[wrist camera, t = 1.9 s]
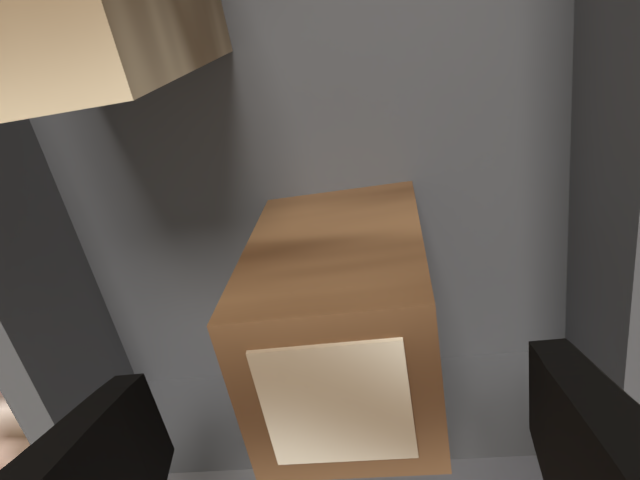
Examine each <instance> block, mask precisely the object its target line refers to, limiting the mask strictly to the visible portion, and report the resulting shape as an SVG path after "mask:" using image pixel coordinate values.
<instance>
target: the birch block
mask: <svg viewBox="0 0 640 480" xmlns="http://www.w3.org/2000/svg"><path fill="white" fill-rule="evenodd" d="M232 51H233V50H232V45H231V41H230V37H229V33H228V28H227V24H226V20H225V16H224V11H223V7H222V3H221V0H0V123H6V122H12V121H18V120H24V119H29V118H35V117H41V116H47V115H53V114H58V113H64V112H70V111H76V110H82V109H87V108H93V107H99V106H105V105H111V104H117V103H122V102H128V101H134V100H136V99H138V98H140V97H142V96H144V95H146V94H148V93H150V92H152V91H154V90H156V89H158V88H160V87H162V86H164V85H166V84H168V83H170V82H172V81H174V80H176V79H178V78H180V77H182V76H184V75H186V74H188V73H190V72H192V71H194V70H196V69H198V68H200V67H202V66H204V65H206V64H208V63H210V62H212V61H214V60H216V59H218V58H220V57H222V56H224V55H226V54H228V53H230V52H232Z"/></svg>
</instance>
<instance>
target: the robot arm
mask: <svg viewBox="0 0 640 480" xmlns="http://www.w3.org/2000/svg"><path fill="white" fill-rule="evenodd" d="M529 429H530V433H531V437H532V441H533V444H534V448H535V452H536V456H537V459H538V463H539V466H540V470H541V473H542V477H543V480H640V404H639V403H638V402H636V401H635V400H634V399H633V398H632V397H631V396H630V395H628V394H627V393H626V392H625V391H624V390H623V389H622V388H621V387H619V386H618V385H617V384H616V383H615V382H614V381H613V380H612V379H610V378H609V377H608V376H607V375H606V374H605V373H604V372H603V371H602V370H601V369H599V368H598V367H597V366H596V365H595V364H594V363H593V362H592V361H591V360H590V359H589V358H588V357H586V356H585V355H584V354H583V353H582V352H581V351H580V350H579V349H578V348H577V347H576V346H575V345H573V344H572V343H571V342H570V341H569V340H567V339H566V338H562V339H550V340H538V341H529ZM174 450H175V449H174V446H173V444H172V441H171V439H170V437H169V434H168V432H167V429H166V427H165V424H164V422H163V419H162V417H161V414H160V412H159V410H158V407H157V405H156V402H155V400H154V397H153V395H152V392H151V390H150V388H149V385H148V383H147V380H146V378H145V375H144V373H142V374H130V375H118V376H114V377H113V378H112V379H110V380H109V381H107V382H106V383H105V384H103V385H102V386H101V387H100V388H98V389H97V390H96V391H95V392H93V393H92V394H91V395H90V396H88V397H87V398H86V399H85V400H84V401H82V402H81V403H80V404H79V405H78V406H76V407H75V408H74V409H73V410H72V411H70V412H69V413H68V414H67V415H66V416H65V417H63V418H62V419H61V420H60V421H59V422H58V423H56V424H55V425H54V426H53V427H52V428H50V429H49V430H48V431H47V432H46V433H44V434H43V435H42V436H41V437H40V438H38V439H37V440H36V441H35V442H34V443H33V444H31V445H30V446H29V447H28V448H27V449H25V450H24V451H23V452H22V453H21V454H19V455H18V456H17V457H16V458H15V459H13V460H12V461H11V462H10V463H8V464H7V465H6V466H5V467H3V468H2V469H1V470H0V480H167V478H168V474H169V470H170V466H171V462H172V458H173V454H174Z"/></svg>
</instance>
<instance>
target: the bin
mask: <svg viewBox="0 0 640 480" xmlns="http://www.w3.org/2000/svg"><path fill="white" fill-rule="evenodd" d="M221 3H222V7H223V11H224V16H225V20H226V24H227V28H228V33H229V37H230V41H231V45H232V50H233V51H232V52H230V53H228V54H226V55H224V56H222V57H220V58H218V59H216V60H214V61H212V62H210V63H208V64H206V65H204V66H202V67H200V68H198V69H196V70H194V71H192V72H190V73H188V74H186V75H184V76H182V77H180V78H178V79H176V80H174V81H172V82H170V83H168V84H166V85H164V86H162V87H160V88H158V89H156V90H154V91H152V92H150V93H148V94H146V95H144V96H142V97H140V98H138V99H136V100H134V101H128V102H122V103H117V104H111V105H105V106H99V107H93V108H87V109H82V110H76V111H70V112H64V113H58V114H53V115H47V116H41V117H35V118H29V119H24V120H18V121H12V122H6V123H0V391H1V393H2V395H3V397H4V398H5V400H6V402H7V404H8V406H9V407H10V409H11V411H12V413H13V414H14V416H15V418H16V420H17V422H18V423H19V425H20V427H21V429H22V430H23V432H24V434H25V436H26V438H27V439H28V441H29V443H30V445H31V444H33V443H34V442H35V441H36V440H37V439H38V438H40V437H41V436H42V435H43V434H44V433H46V432H47V431H48V430H49V429H50V428H52V427H53V426H54V425H55V424H56V423H58V422H59V421H60V420H61V419H62V418H63V417H65V416H66V415H67V414H68V413H69V412H70V411H72V410H73V409H74V408H75V407H76V406H78V405H79V404H80V403H81V402H82V401H84V400H85V399H86V398H87V397H88V396H90V395H91V394H92V393H93V392H95V391H96V390H97V389H98V388H100V387H101V386H102V385H103V384H105V383H106V382H107V381H109V380H110V379H112V378H113V377H114V376H118V375H130V374H142V373H144V375H145V378H146V380H147V383H148V385H149V388H150V390H151V392H152V395H153V397H154V400H155V402H156V405H157V407H158V410H159V412H160V414H161V417H162V419H163V422H164V424H165V427H166V429H167V432H168V434H169V437H170V439H171V441H172V444H173V446H174V449H175V450H174V454H173V458H172V462H171V466H170V470H169V474H168V478H167V480H256V477H255V474H254V471H253V468H252V465H251V462H250V459H249V456H248V453H247V450H246V447H245V443H244V440H243V437H242V434H241V431H240V428H239V425H238V422H237V419H236V416H235V413H234V409H233V406H232V403H231V400H230V397H229V394H228V391H227V388H226V385H225V382H224V379H223V375H222V372H221V369H220V366H219V363H218V360H217V357H216V354H215V351H214V348H213V345H212V341H211V338H210V335H209V332H208V329H207V324H208V322H209V320H210V318H211V316H212V314H213V312H214V310H215V308H216V306H217V304H218V302H219V300H220V298H221V295H222V293H223V291H224V289H225V287H226V285H227V283H228V281H229V279H230V277H231V275H232V273H233V271H234V269H235V267H236V265H237V263H238V260H239V258H240V256H241V254H242V252H243V250H244V248H245V246H246V244H247V242H248V240H249V238H250V236H251V234H252V232H253V230H254V227H255V225H256V223H257V221H258V219H259V217H260V215H261V213H262V211H263V209H264V207H265V205H266V203H267V201H268V200H272V199H279V198H287V197H294V196H302V195H309V194H317V193H324V192H332V191H339V190H347V189H354V188H362V187H369V186H377V185H384V184H392V183H399V182H407V181H412V183H413V188H414V194H415V199H416V204H417V210H418V215H419V220H420V226H421V231H422V236H423V241H424V247H425V252H426V257H427V263H428V268H429V273H430V279H431V284H432V289H433V295H434V300H435V306H436V317H437V327H438V337H439V347H440V357H441V368H442V378H443V388H444V398H445V409H446V419H447V429H448V439H449V450H450V460H451V470H452V474H442V475H420V476H398V477H375V478H353V479H331V480H543V477H542V473H541V470H540V466H539V463H538V459H537V456H536V452H535V448H534V444H533V441H532V437H531V433H530V429H529V341H538V340H550V339H562V338H566V339H567V340H569V341H570V342H571V343H572V344H573V345H575V346H576V347H577V348H578V349H579V350H580V351H581V352H582V353H583V354H584V355H585V356H586V357H588V358H589V359H590V360H591V361H592V362H593V363H594V364H595V365H596V366H597V367H598V368H599V369H601V370H602V371H603V372H604V373H605V374H606V375H607V376H608V377H609V378H610V379H612V380H613V381H614V382H615V383H616V384H617V385H618V386H619V387H621V388H622V389H623V390H624V391H625V392H626V393H627V394H628V395H630V396H631V397H632V398H633V399H634V400H635V401H636V402H638V403H639V404H640V0H221Z"/></svg>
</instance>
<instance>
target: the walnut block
mask: <svg viewBox="0 0 640 480" xmlns="http://www.w3.org/2000/svg"><path fill="white" fill-rule="evenodd" d="M207 329H208V332H209V335H210V338H211V341H212V345H213V348H214V351H215V354H216V357H217V360H218V363H219V366H220V369H221V372H222V375H223V379H224V382H225V385H226V388H227V391H228V394H229V397H230V400H231V403H232V406H233V409H234V413H235V416H236V419H237V422H238V425H239V428H240V431H241V434H242V437H243V440H244V443H245V447H246V450H247V453H248V456H249V459H250V462H251V465H252V468H253V471H254V474H255V477H256V480H331V479H353V478H375V477H398V476H420V475H442V474H452V470H451V460H450V450H449V439H448V429H447V419H446V409H445V398H444V388H443V378H442V368H441V357H440V347H439V337H438V327H437V317H436V306H435V300H434V295H433V289H432V284H431V279H430V273H429V268H428V263H427V257H426V252H425V247H424V241H423V236H422V231H421V226H420V220H419V215H418V210H417V204H416V199H415V194H414V188H413V183H412V181H407V182H399V183H392V184H384V185H377V186H369V187H362V188H354V189H347V190H339V191H332V192H324V193H317V194H309V195H302V196H294V197H287V198H279V199H272V200H268V201H267V203H266V205H265V207H264V209H263V211H262V213H261V215H260V217H259V219H258V221H257V223H256V225H255V227H254V230H253V232H252V234H251V236H250V238H249V240H248V242H247V244H246V246H245V248H244V250H243V252H242V254H241V256H240V258H239V260H238V263H237V265H236V267H235V269H234V271H233V273H232V275H231V277H230V279H229V281H228V283H227V285H226V287H225V289H224V291H223V293H222V295H221V298H220V300H219V302H218V304H217V306H216V308H215V310H214V312H213V314H212V316H211V318H210V320H209V322H208V324H207Z"/></svg>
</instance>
